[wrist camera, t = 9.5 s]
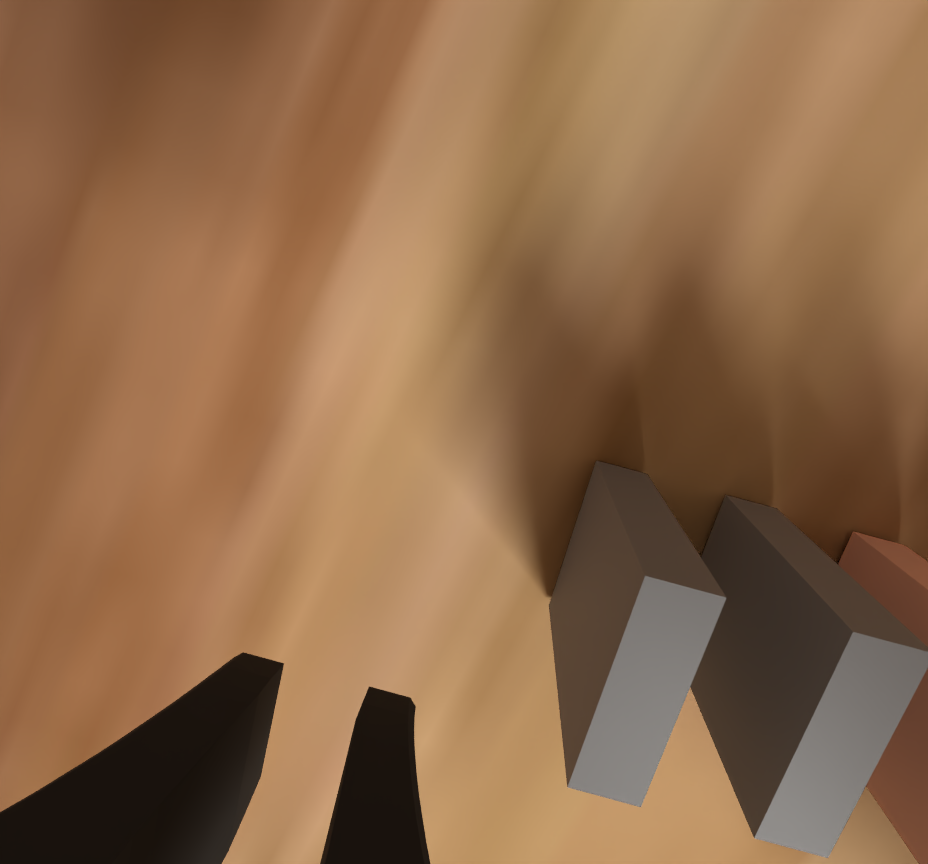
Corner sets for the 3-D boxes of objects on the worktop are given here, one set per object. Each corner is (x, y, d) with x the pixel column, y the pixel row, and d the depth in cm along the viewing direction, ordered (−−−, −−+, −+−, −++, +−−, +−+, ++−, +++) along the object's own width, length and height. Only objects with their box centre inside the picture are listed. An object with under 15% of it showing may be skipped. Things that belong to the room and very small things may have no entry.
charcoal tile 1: (647, 474, 18) (726, 597, 11) (596, 618, 19) (640, 807, 13) (596, 460, 18) (644, 575, 11) (548, 605, 19) (567, 787, 13)
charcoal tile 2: (776, 508, 18) (935, 653, 11) (717, 650, 19) (827, 857, 12) (725, 494, 18) (852, 631, 11) (669, 637, 19) (754, 838, 12)
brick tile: (904, 544, 18) (1139, 712, 11) (836, 684, 19) (1011, 911, 12) (852, 531, 18) (1056, 689, 11) (789, 672, 19) (937, 891, 12)
